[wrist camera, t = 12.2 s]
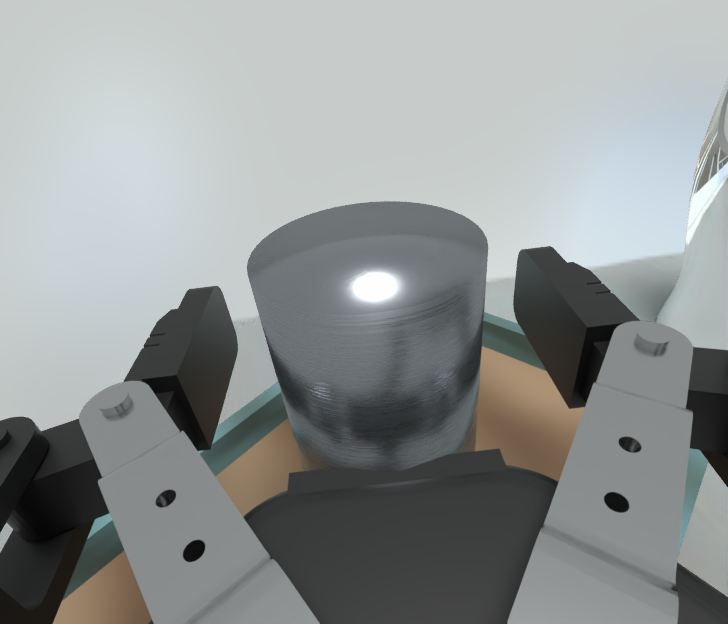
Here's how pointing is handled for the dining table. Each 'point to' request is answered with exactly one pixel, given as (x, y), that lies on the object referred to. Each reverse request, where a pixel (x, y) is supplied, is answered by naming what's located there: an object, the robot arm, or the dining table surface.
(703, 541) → the dining table surface
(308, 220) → the metal part
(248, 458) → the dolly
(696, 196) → the beer glass
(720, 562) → the dining table surface
